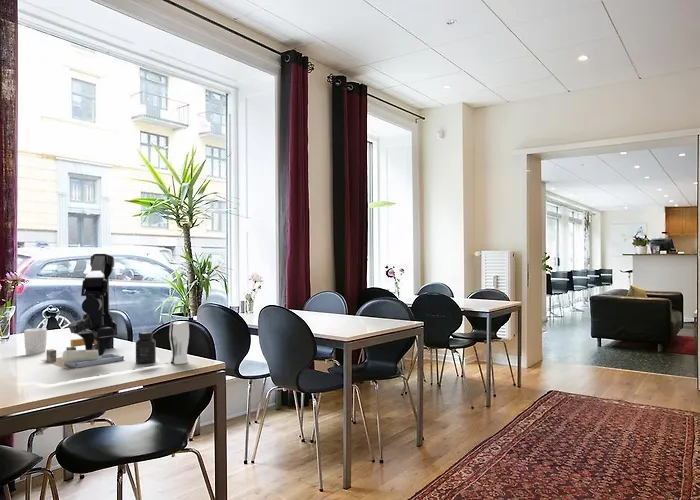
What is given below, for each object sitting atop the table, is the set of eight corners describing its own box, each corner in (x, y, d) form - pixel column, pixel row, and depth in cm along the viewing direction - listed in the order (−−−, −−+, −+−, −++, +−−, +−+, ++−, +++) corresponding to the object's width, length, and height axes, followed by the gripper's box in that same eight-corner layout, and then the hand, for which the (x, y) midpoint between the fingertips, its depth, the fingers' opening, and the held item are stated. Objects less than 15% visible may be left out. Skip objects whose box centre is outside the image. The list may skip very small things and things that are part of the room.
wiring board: (95, 354, 211) (95, 342, 211) (125, 363, 196) (125, 349, 196) (40, 362, 195) (40, 349, 195) (68, 372, 180) (68, 357, 180)
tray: (111, 357, 201) (111, 353, 201) (123, 360, 196) (123, 356, 196) (64, 364, 188) (64, 360, 188) (75, 368, 182) (75, 363, 182)
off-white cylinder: (66, 362, 182) (68, 351, 183) (61, 361, 185) (63, 349, 185) (101, 361, 192) (102, 350, 192) (95, 360, 194) (97, 349, 195)
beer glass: (172, 361, 199) (172, 321, 199) (190, 360, 200) (191, 321, 200) (167, 365, 192) (167, 323, 192) (186, 364, 193) (186, 323, 193)
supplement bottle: (159, 363, 194) (159, 331, 194) (146, 367, 188) (147, 334, 188) (144, 362, 196) (144, 330, 197) (131, 366, 190) (131, 333, 190)
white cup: (36, 356, 207) (36, 331, 207) (19, 356, 208) (19, 330, 208) (51, 353, 214) (51, 328, 214) (34, 352, 216) (34, 327, 216)
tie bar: (95, 342, 208) (95, 336, 208) (99, 343, 206) (99, 337, 206) (69, 346, 201) (69, 339, 201) (73, 347, 199) (73, 340, 199)
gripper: (60, 311, 192) (60, 354, 192) (83, 315, 180) (83, 360, 180) (91, 308, 200) (91, 349, 200) (115, 312, 188) (115, 355, 188)
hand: (94, 353), depth 192 cm, fingers open, 9 cm apart
